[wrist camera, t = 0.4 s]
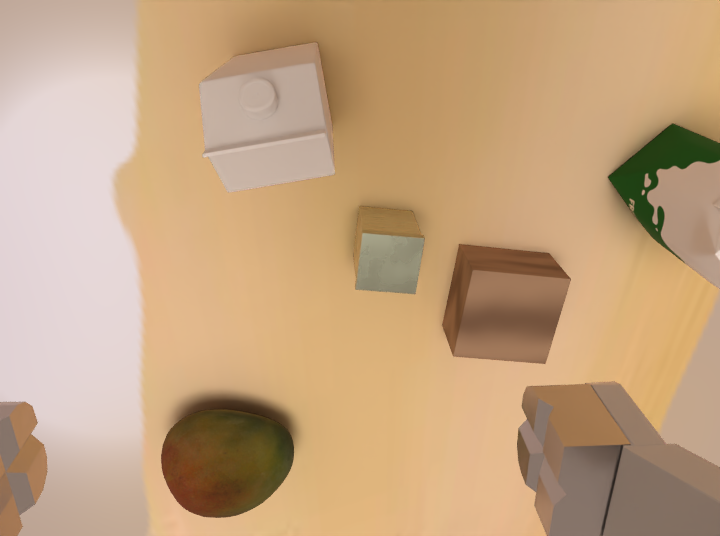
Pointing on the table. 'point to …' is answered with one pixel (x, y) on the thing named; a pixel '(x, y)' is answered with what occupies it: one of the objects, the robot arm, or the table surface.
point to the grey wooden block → (387, 250)
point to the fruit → (225, 461)
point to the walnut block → (504, 304)
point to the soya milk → (677, 196)
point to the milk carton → (268, 118)
